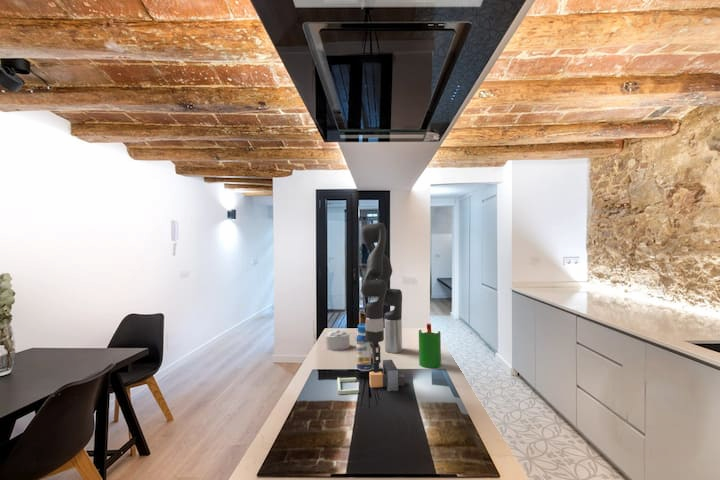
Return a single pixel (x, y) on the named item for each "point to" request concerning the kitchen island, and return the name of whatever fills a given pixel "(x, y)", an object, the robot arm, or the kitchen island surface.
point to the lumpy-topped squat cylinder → (337, 340)
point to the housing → (390, 375)
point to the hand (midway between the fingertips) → (374, 368)
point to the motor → (429, 348)
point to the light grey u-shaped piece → (348, 391)
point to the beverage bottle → (363, 350)
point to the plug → (383, 379)
